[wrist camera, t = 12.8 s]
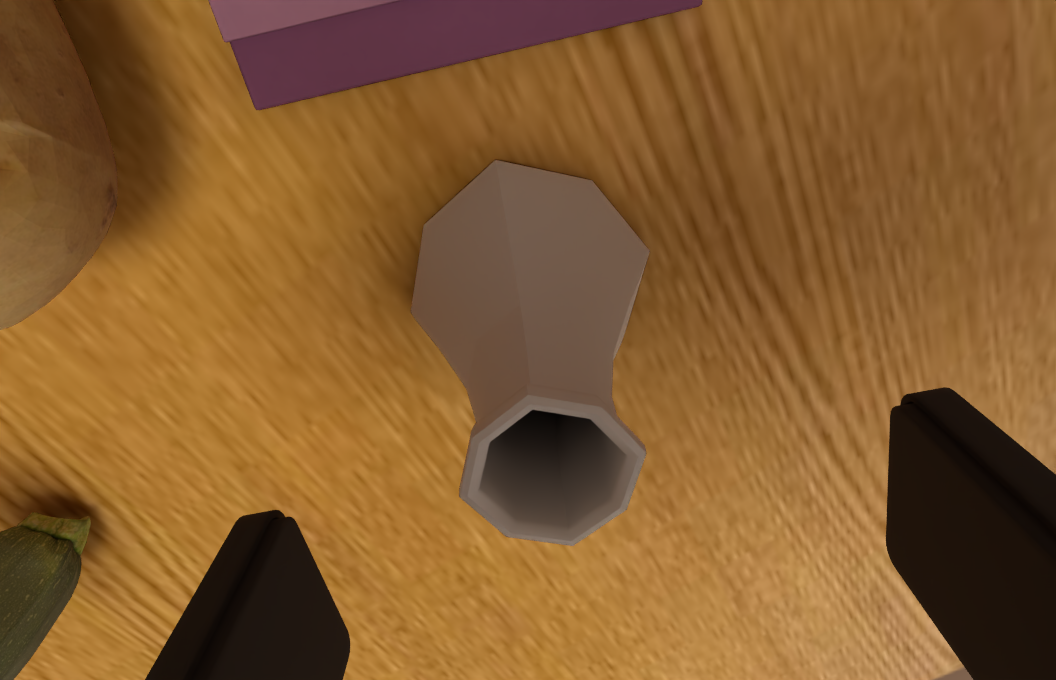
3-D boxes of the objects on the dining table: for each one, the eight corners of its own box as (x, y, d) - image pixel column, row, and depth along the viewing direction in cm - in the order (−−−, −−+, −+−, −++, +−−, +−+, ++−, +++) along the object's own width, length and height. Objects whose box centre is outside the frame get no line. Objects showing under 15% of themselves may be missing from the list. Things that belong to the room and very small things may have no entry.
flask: (373, 318, 21) (277, 540, 12) (483, 113, 18) (467, 194, 9) (564, 412, 23) (608, 667, 14) (688, 238, 20) (845, 407, 11)
